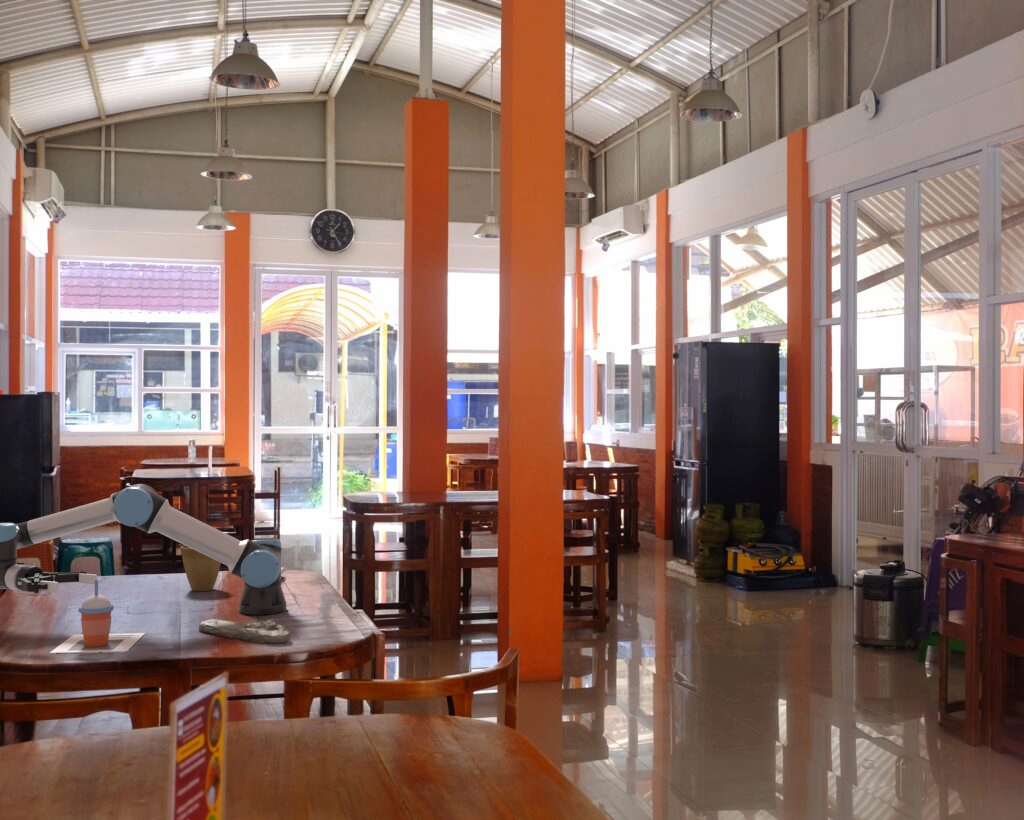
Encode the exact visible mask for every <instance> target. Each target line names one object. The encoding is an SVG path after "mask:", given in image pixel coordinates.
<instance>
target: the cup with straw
mask: <svg viewBox="0 0 1024 820" xmlns="http://www.w3.org/2000/svg"><path fill="white" fill-rule="evenodd" d="M114 610H115V607H114V604H112V602H111V600H110V599H109V598H108V597H107V596H105V595H102V594H99V579H97V580H95V584H94V594H93V595H91V596H88V597H86V598H85V599H84V600H83V602H81V606H79V607H78V612H79V613H80V614H81V618H80V625H81V634H83V638H84V645H85V646H87V647H100V646H104V645H107V644H108V639H109V634H111V626H112V625H111V624H112V612H113V611H114Z"/></svg>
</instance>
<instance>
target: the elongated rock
mask: <svg viewBox="0 0 1024 820" xmlns="http://www.w3.org/2000/svg"><path fill="white" fill-rule="evenodd" d="M198 631H199V632H205V633H210V634H212V635H215V636H222V637H224V638H230V639H239V640H240V639H241V640H244V641H247V642H256V643H261V644H265V643H270V644H271V643H284V642H287V641H290V640H291V637H292V635H291V633H290V629H288V628H286V627H285V626H284V625H281V624H278V623H277V621H275V619H266V620H259V622H257V621H255V622H248V623H243V622H235V621H228V620H222V619H220V618H219V619H217V618H213V619H206V620H203V621H200V623H199V625H198Z"/></svg>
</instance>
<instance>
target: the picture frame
mask: <svg viewBox="0 0 1024 820" xmlns="http://www.w3.org/2000/svg"><path fill="white" fill-rule="evenodd" d="M144 634H145V635H146V632H142V633H141V632H138V633H137V632H135V633H133V632H132V633H131V632H130V633H109V639H108V644H107V645H104V646H100V647H87V646H85V645H84V638H83V634H82V633H81V634H73V635H70V637H69V638H68V639H66V640H65V641H63V642H62V643H60V645H58V646H56V647H55V648H54V649H53V650H51V651H50V652H49V654H51V655H53V654H54V655H56V653H61V654H89V653H90V654H95V653H98V654H99V652H102V653H127V652H129V651H130V650H131V649H132V648H133V647H134V646H135V645H136V644H137V643H138V642H139V641H140V640H141V639H142V638H143V637H144V636H145V635H144ZM143 635H144V636H143ZM142 636H143V637H142ZM141 637H142V638H141ZM140 638H141V639H140ZM139 639H140V640H139ZM138 640H139V641H138ZM137 641H138V642H137ZM136 642H137V643H136ZM135 643H136V644H135ZM134 644H135V645H134ZM133 645H134V646H133ZM132 646H133V647H132ZM131 647H132V648H131ZM130 648H131V649H130ZM129 649H130V650H129ZM126 651H127V652H126Z"/></svg>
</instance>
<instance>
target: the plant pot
mask: <svg viewBox="0 0 1024 820" xmlns="http://www.w3.org/2000/svg"><path fill="white" fill-rule="evenodd" d="M180 551H181V558H182V563H183V567H184V571H185V575H186V578H187V581H188V584H189V586H190V589H191V591H193V592H208V591H212V590H213V589H214V587H215V584H216V582H217V579H218V575H219V572H220V568H221V564H222V563H220V562H218V561H216V560H214V559H212V558H210V557H208V556H206V555H204V554H202V553H200V552H198V551H196V550H194V549H192V548H190V547H187V546H185V545H180Z"/></svg>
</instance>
